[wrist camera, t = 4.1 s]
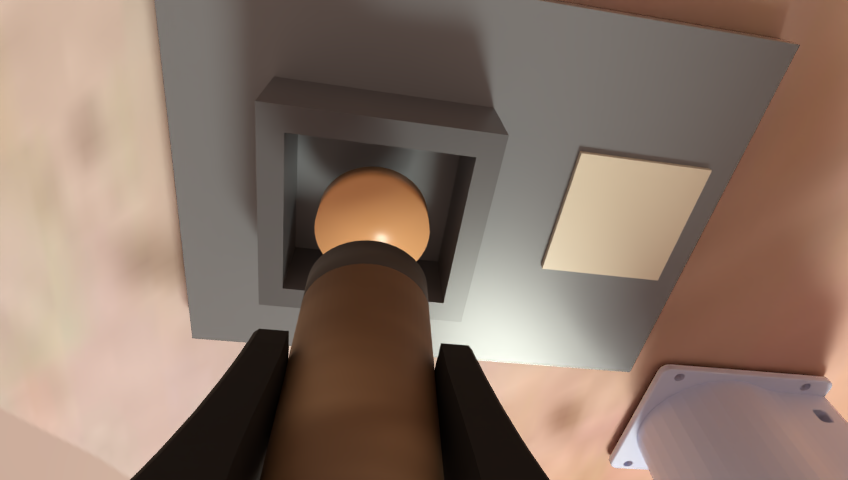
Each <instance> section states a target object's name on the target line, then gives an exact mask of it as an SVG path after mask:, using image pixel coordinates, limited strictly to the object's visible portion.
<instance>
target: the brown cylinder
mask: <svg viewBox="0 0 848 480" xmlns="http://www.w3.org/2000/svg"><path fill="white" fill-rule="evenodd" d="M260 480H444V473H443V461H442V450H441V439H440V427H439V416H438V404H437V393H436V381H435V370H434V359H433V347H432V336H431V324H430V313H429V301H428V290H427V281H426V277H425V275H424V272H423V270H422V268H421V267H420V265H419V264H418V263H417V262H416V260H415V259H414V258H413V257H411V256H410V255H409V254H408V253H406V252H405V251H403V250H402V249H400V248H398V247H396V246H393V245H390V244H387V243H384V242H379V241H371V240H361V241H353V242H348V243H344V244H341V245H338V246H336V247H334V248H332V249H330V250H329V251H327V252H326V253H324V254H323V255H322V256H321V257H320V258H319V259H318V260H317V261H316V262H315V263H314V265H313V266H312V268H311V270H310V272H309V275H308V279H307V283H306V287H305V291H304V296H303V300H302V304H301V308H300V312H299V317H298V321H297V325H296V329H295V333H294V338H293V342H292V346H291V350H290V354H289V359H288V363H287V368H286V372H285V376H284V380H283V384H282V389H281V393H280V397H279V401H278V405H277V409H276V413H275V418H274V422H273V426H272V430H271V434H270V439H269V443H268V447H267V451H266V455H265V460H264V464H263V468H262V472H261V476H260Z"/></svg>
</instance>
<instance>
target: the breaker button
mask: <svg viewBox="0 0 848 480" xmlns="http://www.w3.org/2000/svg"><path fill="white" fill-rule="evenodd" d="M429 233H430V230H429V218H428V210H427V205H426V202H425V199H424V197H423V195H422V193H421V191H420V190H419V189H418V187H417V186H416V185H415V184H414V183H413V182H412V181H411V180H410V179H408V178H407V177H406V176H404V175H402V174H401V173H399V172H396V171H394V170H391V169H388V168H383V167H373V166H371V167H361V168H356V169H353V170H350V171H348V172H345V173H343V174H342V175H340V176H339V177H337V178H336V179H335V180H334V181H332V182H331V183H330V185H329V186H328V187H327V188H326V190H325V191H324V193H323V195H322V197H321V200H320V204H319V208H318V211H317V215H316V219H315V237H316V241H317V244H318V246H319V248H320V250H321V252H322V253H323V254H324V253H326V252H327V251H329V250H330V249H332V248H334V247H336V246H338V245H341V244H344V243H348V242H353V241H361V240H371V241H379V242H384V243H387V244H390V245H393V246H396V247H398V248H400V249H402V250H403V251H405V252H406V253H408V254H409V255H410V256H411V257H413V258H414V259H415V260H416V261H417V260H418V259H419V258H420V257H421V255H422V254H423V252H424V251H425V248H426V246H427V243H428V240H429Z"/></svg>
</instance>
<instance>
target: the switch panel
mask: <svg viewBox="0 0 848 480" xmlns="http://www.w3.org/2000/svg"><path fill="white" fill-rule="evenodd" d="M155 9H156V18H157V27H158V36H159V45H160V54H161V63H162V72H163V81H164V89H165V98H166V107H167V116H168V125H169V134H170V143H171V152H172V161H173V170H174V179H175V188H176V197H177V205H178V214H179V223H180V232H181V241H182V250H183V259H184V268H185V277H186V286H187V295H188V304H189V312H190V321H191V330H192V338H196V339H209V340H221V341H234V342H248V340H249V339H250V337H251V336H252V334H253V332H255V331H256V330H258V329H270V330H283V331H289V346H292V342H293V338H294V333H295V329H296V325H297V321H298V317H299V312H300V308H301V304H302V300H303V296H304V291H305V287H306V283H307V279H308V275H309V272H310V270H311V268H312V266H313V265H314V263H315V262H316V261H317V260H318V259H319V258H320V257H321V256H322V255H323V253H322V252H321V250H320V248H319V246H318V244H317V241H316V237H315V219H316V215H317V211H318V208H319V204H320V200H321V197H322V195H323V193H324V191H325V190H326V188H327V187H328V186H329V185H330V183H331V182H332V181H334V180H335V179H336V178H337V177H339V176H340V175H342V174H343V173H345V172H348V171H350V170H353V169H356V168H361V167H371V166H373V167H383V168H388V169H391V170H394V171H396V172H399V173H401V174H402V175H404V176H406V177H407V178H408V179H410V180H411V181H412V182H413V183H414V184H415V185H416V186H417V187H418V189H419V190H420V191H421V193H422V195H423V197H424V199H425V202H426V205H427V210H428V218H429V230H430V233H429V240H428V243H427V246H426V248H425V251H424V252H423V254H422V255H421V257H420V258H419V259H418V260H417V261H416V262H417V263H418V264H419V265H420V267H421V268H422V270H423V272H424V275H425V277H426V281H427V290H428V301H429V313H430V324H431V336H432V347H433V357H438V354H439V349H440V345H441V343H445V344H457V345H469V347H470V348H471V349H472V350H473V353H474V355H475V357H476V359H477V360H480V361H493V362H506V363H519V364H532V365H545V366H558V367H571V368H584V369H596V370H609V371H622V372H630V371H631V369H632V367H633V365H634V363H635V361H636V359H637V357H638V355H639V354H640V352H641V350H642V348H643V346H644V344H645V342H646V340H647V338H648V336H649V334H650V332H651V330H652V328H653V327H654V325H655V323H656V321H657V319H658V317H659V315H660V313H661V311H662V309H663V307H664V305H665V303H666V302H667V300H668V298H669V296H670V294H671V292H672V290H673V288H674V286H675V284H676V282H677V280H678V278H679V277H680V275H681V273H682V271H683V269H684V267H685V265H686V263H687V261H688V259H689V257H690V255H691V253H692V252H693V250H694V248H695V246H696V244H697V242H698V240H699V238H700V236H701V234H702V232H703V230H704V228H705V226H706V225H707V223H708V221H709V219H710V217H711V215H712V213H713V211H714V209H715V207H716V205H717V203H718V201H719V200H720V198H721V196H722V194H723V192H724V190H725V188H726V186H727V184H728V182H729V180H730V178H731V176H732V175H733V173H734V171H735V169H736V167H737V165H738V163H739V161H740V159H741V157H742V155H743V153H744V151H745V150H746V148H747V146H748V144H749V142H750V140H751V138H752V136H753V134H754V132H755V130H756V128H757V126H758V124H759V123H760V121H761V119H762V117H763V115H764V113H765V111H766V109H767V107H768V105H769V103H770V101H771V99H772V98H773V96H774V94H775V92H776V90H777V88H778V86H779V84H780V82H781V80H782V78H783V76H784V74H785V73H786V71H787V69H788V67H789V65H790V63H791V61H792V59H793V57H794V55H795V53H796V51H797V49H798V48H799V46H800V45H798V44H795V43H792V42H789V41H785V40H782V39H778V38H772V37H766V36H760V35H754V34H749V33H743V32H737V31H731V30H725V29H719V28H714V27H708V26H702V25H696V24H690V23H684V22H679V21H673V20H667V19H661V18H655V17H650V16H644V15H638V14H632V13H626V12H620V11H615V10H609V9H603V8H597V7H591V6H586V5H580V4H574V3H568V2H562V1H556V0H155Z"/></svg>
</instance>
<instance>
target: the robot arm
mask: <svg viewBox="0 0 848 480" xmlns="http://www.w3.org/2000/svg"><path fill="white" fill-rule="evenodd" d="M288 352H289V331H283V330H270V329H258V330H256V331H255V332H253V334H252V336H251V337H250V339H249V340H248V342H247V343H246V345H245V346H244V348H243V349H242V351H241V352H240V354H239V355H238V357H237V358H236V359H235V361H234V362H233V363H232V365H231V366H230V367H229V369H228V370H227V371H226V373H225V374H224V375H223V377H222V378H221V379H220V381H219V382H218V383H217V384H216V386H215V387H214V388H213V389H212V390H211V392H210V393H209V394H208V395H207V397H206V398H205V399H204V400H203V402H202V403H201V404H200V405H199V406H198V408H197V409H196V410H195V411H194V412H193V414H192V415H191V416H190V417H189V418H188V419H187V420H186V421H185V422H184V424H183V425H182V426H181V427H180V428H179V429H178V430H177V431H176V432H175V434H174V435H173V436H172V437H171V438H170V439H169V440H168V441H167V442H166V444H165V445H164V446H163V447H162V448H161V449H160V450H159V451H158V452H157V453H156V454H155V455H154V456H153V457H152V458H151V459H150V460H149V461H148V462H147V463H146V465H145V466H144V467H143V468H142V469H141V470H140V471H139V472H138V473H137V474H136V475H135V476H133V477H132V478H131V479H130V480H260V476H261V472H262V468H263V464H264V460H265V455H266V451H267V447H268V443H269V439H270V434H271V430H272V426H273V422H274V418H275V413H276V409H277V405H278V401H279V397H280V393H281V389H282V384H283V380H284V376H285V372H286V368H287V363H288ZM435 381H436V393H437V404H438V416H439V427H440V439H441V450H442V461H443V473H444V480H549V478H548V477H547V475H546V474H545V473H544V471H543V470H542V468H541V467H540V465H539V464H538V462H537V461H536V459H535V458H534V456H533V455H532V454H531V452H530V451H529V449H528V448H527V446H526V444H525V443H524V441H523V440H522V438H521V437H520V435H519V433H518V432H517V430H516V429H515V427H514V425H513V424H512V422H511V420H510V419H509V417H508V415H507V414H506V412H505V410H504V409H503V407H502V405H501V404H500V402H499V400H498V398H497V397H496V395H495V393H494V391H493V389H492V387H491V386H490V384H489V382H488V380H487V378H486V376H485V374H484V373H483V371H482V369H481V367H480V365H479V363H478V361H477V359H476V357H475V355H474V353H473V350H472V349H471V348H470V347H469V345H457V344H445V343H441V345H440V349H439V354H438V358H437V362H436V367H435ZM831 387H832V383H831V382H830V381H829V380H828V379H827V378H826V377H822V376H810V375H798V374H785V373H773V372H760V371H748V370H735V369H723V368H710V367H698V366H685V365H673V364H668V365H664V366H662V367H660V369H659V370H658V371H657V373H656V375H655V377H654V378H653V380H652V382H651V384H650V385H649V387H648V389H647V391H646V393H645V394H644V396H643V398H642V400H641V402H640V403H639V405H638V407H637V409H636V410H635V412H634V414H633V416H632V418H631V419H630V421H629V423H628V425H627V427H626V428H625V430H624V432H623V434H622V436H621V437H620V439H619V441H618V443H617V444H616V446H615V448H614V450H613V452H612V453H611V455H610V457H609V461H610V463H611V466H613V467H615V468H627V469H646V470H649V471H650V474H651V476H652V478H653V480H848V422H847V421H846V420H845V419H844V418H843V417H842V416H841V415H840V414H839V413H838V411H837V410H836V409H835V408H834V407H833V406H832V405H831V404H830V403H829V402H828V400H827V399H826V398H825V397H824V396H825V395H826V394H827V393H828V391H829V390H830V389H831Z"/></svg>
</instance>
